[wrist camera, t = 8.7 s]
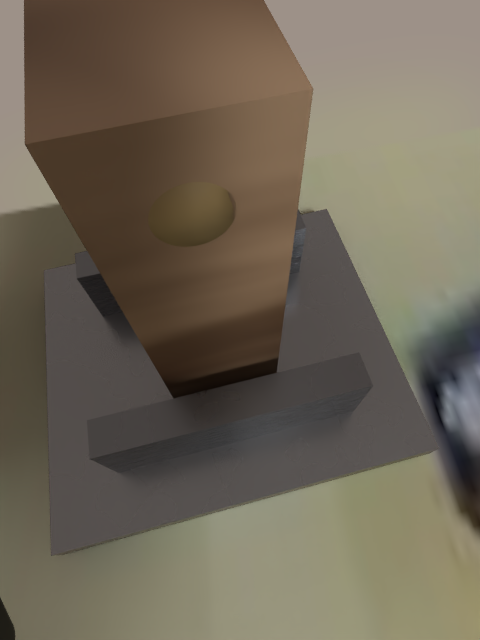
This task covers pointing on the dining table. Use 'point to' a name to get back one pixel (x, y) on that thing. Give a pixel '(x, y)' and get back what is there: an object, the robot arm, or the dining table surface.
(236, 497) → the keeper bracket
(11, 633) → the robot arm
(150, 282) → the brown wooden block
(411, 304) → the dining table surface
